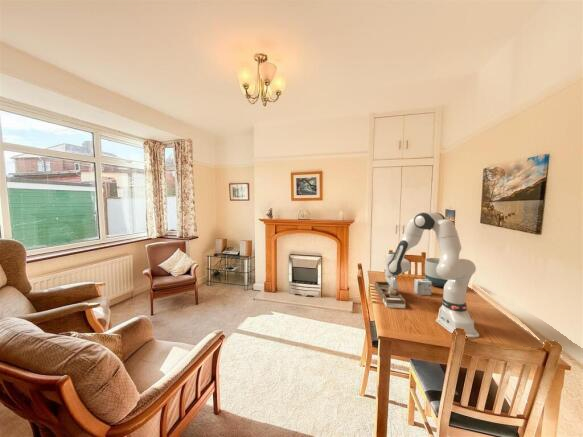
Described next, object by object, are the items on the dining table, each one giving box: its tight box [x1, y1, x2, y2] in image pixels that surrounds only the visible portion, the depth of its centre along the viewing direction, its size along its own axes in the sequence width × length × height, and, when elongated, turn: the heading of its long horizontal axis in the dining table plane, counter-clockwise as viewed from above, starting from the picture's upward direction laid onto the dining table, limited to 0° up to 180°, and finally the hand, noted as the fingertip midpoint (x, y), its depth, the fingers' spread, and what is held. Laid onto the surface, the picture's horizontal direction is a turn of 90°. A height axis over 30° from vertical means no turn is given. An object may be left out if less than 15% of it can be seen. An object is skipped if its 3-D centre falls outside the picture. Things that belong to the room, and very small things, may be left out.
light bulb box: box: [413, 278, 433, 296], centre depth 184 cm, size 11×7×11 cm, turn 84°
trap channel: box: [374, 280, 406, 309], centre depth 178 cm, size 35×12×6 cm, turn 173°
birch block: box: [388, 287, 398, 295], centre depth 176 cm, size 5×4×4 cm
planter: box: [424, 257, 448, 288], centre depth 200 cm, size 20×20×21 cm
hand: (390, 290), depth 181 cm, fingers closed
